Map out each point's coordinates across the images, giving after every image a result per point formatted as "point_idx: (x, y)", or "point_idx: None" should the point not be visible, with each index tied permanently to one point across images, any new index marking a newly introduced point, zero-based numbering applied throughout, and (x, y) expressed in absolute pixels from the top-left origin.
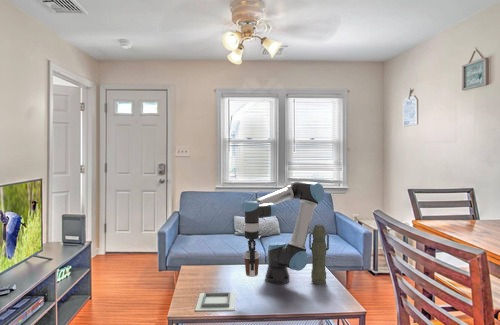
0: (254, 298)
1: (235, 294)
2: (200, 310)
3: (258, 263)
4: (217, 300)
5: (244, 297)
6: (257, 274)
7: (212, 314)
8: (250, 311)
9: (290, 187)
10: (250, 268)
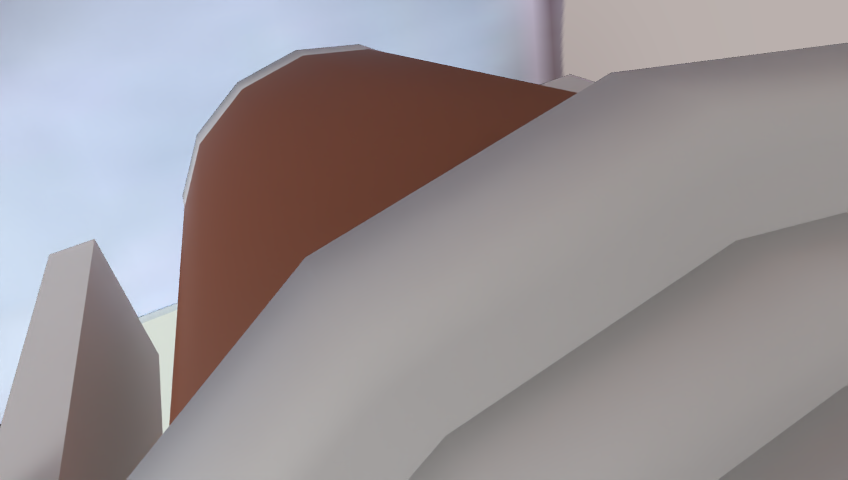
0: (140, 63)
1: (150, 322)
2: None
3: (488, 86)
4: None
5: (160, 200)
6: (373, 49)
7: None
8: (484, 30)
9: None
10: None
